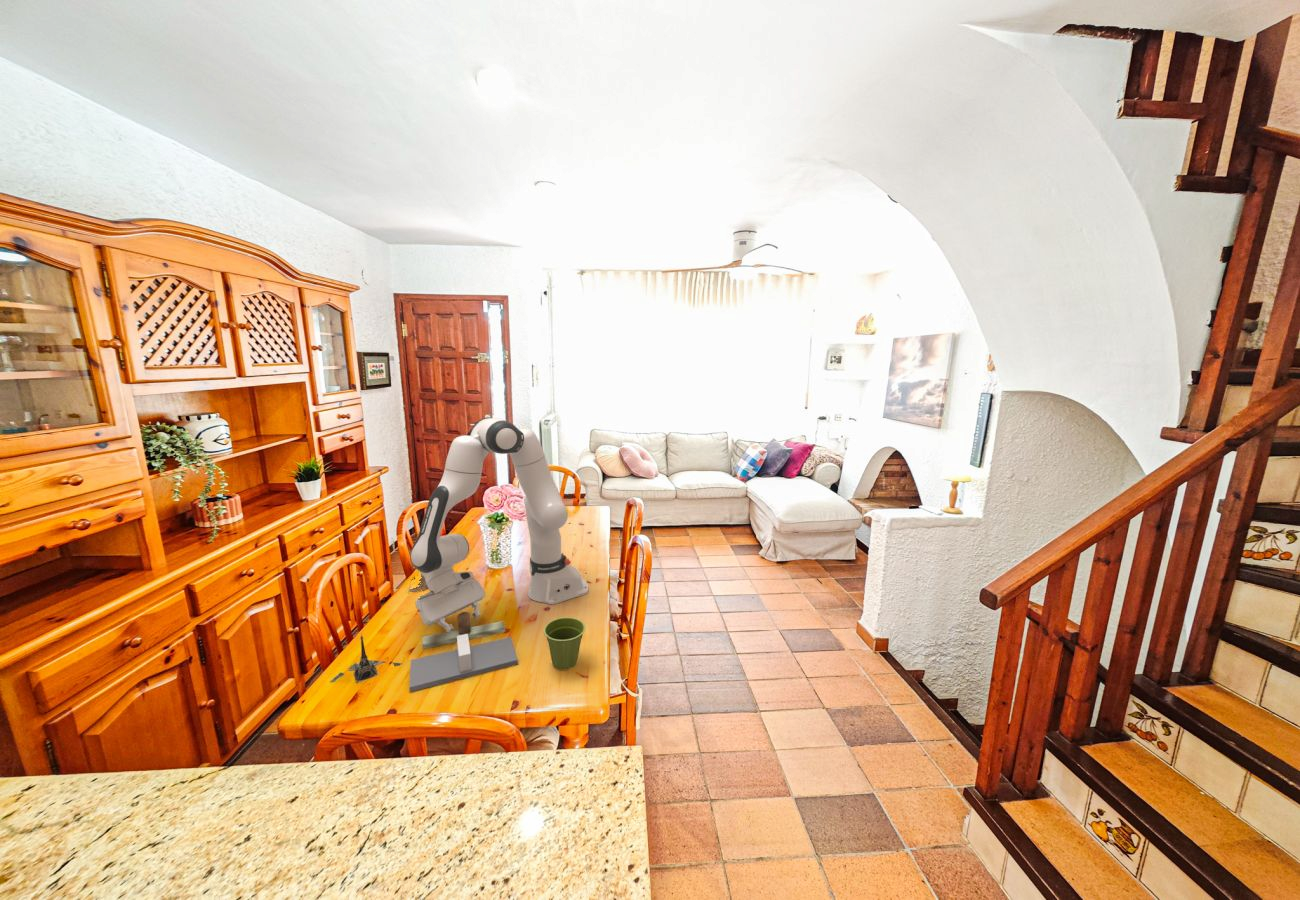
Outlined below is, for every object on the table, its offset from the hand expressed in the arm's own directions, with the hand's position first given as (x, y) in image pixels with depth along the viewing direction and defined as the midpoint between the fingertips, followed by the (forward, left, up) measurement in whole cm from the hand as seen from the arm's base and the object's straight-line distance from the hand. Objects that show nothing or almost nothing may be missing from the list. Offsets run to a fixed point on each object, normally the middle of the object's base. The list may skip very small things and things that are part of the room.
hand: (464, 623), depth 145 cm
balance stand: (+1, +14, -5) cm, 15 cm away
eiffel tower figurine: (+26, +7, -5) cm, 27 cm away
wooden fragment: (+10, -47, -5) cm, 49 cm away
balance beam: (0, 0, -5) cm, 5 cm away
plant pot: (-26, +24, -5) cm, 36 cm away
